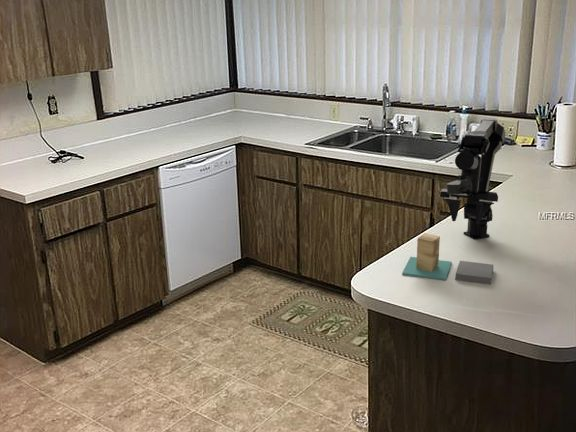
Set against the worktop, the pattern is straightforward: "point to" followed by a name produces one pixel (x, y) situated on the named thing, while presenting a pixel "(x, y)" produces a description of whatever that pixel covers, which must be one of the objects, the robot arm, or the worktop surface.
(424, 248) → the oak block
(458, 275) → the charcoal board
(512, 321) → the worktop surface
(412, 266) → the teal mat
